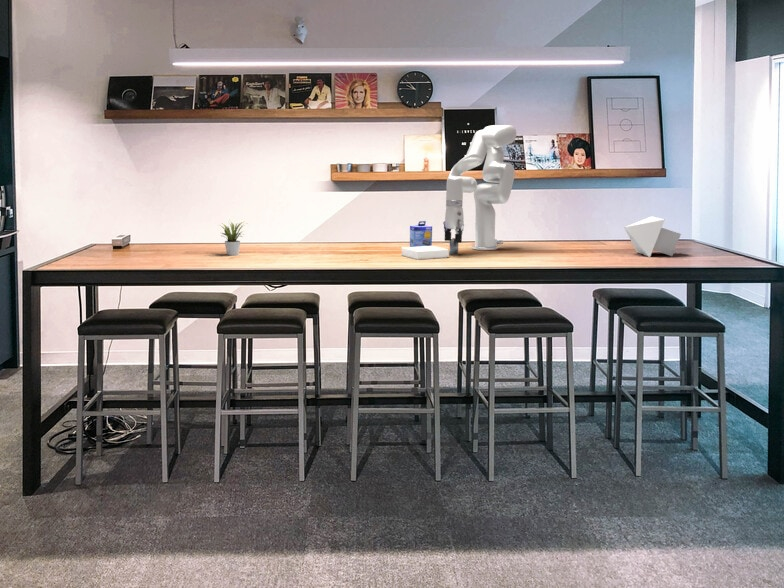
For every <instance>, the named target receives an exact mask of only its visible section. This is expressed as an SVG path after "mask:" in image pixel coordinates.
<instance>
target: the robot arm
mask: <svg viewBox="0 0 784 588" xmlns="http://www.w3.org/2000/svg"><path fill="white" fill-rule="evenodd" d="M516 138H517V130H516V128H515V126H513V125H511V124H502V125H501V124H499V125H498V124H493V125H488V126H485V127H484V128H483V129H480V130H477V131H476V132H475V133H474V135H473V137H472V140H471V143H470V145H469V148H468V150H467V152H466V155H465V156H464V157H463V158H461V159H459V160H458V162H457V163H455V164H454V165H453V167H452V168H451V170H450V172H449V175H448V177H447V179H446V193H445V194H446V195H445V196H446V197H445V208H446V209H445V214H444V221H443V223H442V224H443V232H444V241H445V242H447V241H448V242H450V239H452V230H454V231H455V234H454V238H455V243H458V244H459V243H462V239H463V237H462V236H463V231H464V227H465V224H464V219H465V217H464V208H463V199H464V198H463V195H464V194H472V193H473V198H474V204H475V205H474V206H475V223H474V224H475V225H474V228H475V233H474V245H472V246H471V249H472V250H476V251H477V250H478V251H494V250H498V249H499V247H498V245H504V240H502V239H501V240H497V239H496V210H495V208H494V206H493V205H503V204H506V203H508V201H509V199H510V196H511V192H512V188H513V184H514V181H515V176H516V175H515V174H516V172H515V168H514V165H513V164H512V163H510V162H509V163H508V162H504V160H505V159H504V158H505V152H504V149H503V147H505V146H508V145H510V144H512V143H513V142H514V141H515V140H516ZM483 163H484V164H483ZM482 164H483V168H482V172H481V173H482V174H481V178H482V179H483V181H485V182H487V183H479V184H478V182H477V180H476V179H475V178H474V177H472V176H463V174H464V173H466V172H467V171H470V170H472V169H474V168H476V167H479V166H480V165H482Z"/></svg>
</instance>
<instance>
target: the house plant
mask: <svg viewBox="0 0 784 588" xmlns="http://www.w3.org/2000/svg"><path fill="white" fill-rule="evenodd" d="M229 221H230V220H229ZM245 224H248V223H247V222H245V223H244V221H242V222H240V223H235V224H234V223H233V222H232V221H230V222H229V225H230V227H229V226H227V225H225V224H224V223H222V225H223V226H222V225H220V224H219V226H221V228H222V229H224V233H223V232H221V234H222V237H224V238H225V239H226V240H224V245H225V251H226V255H227V256H238V255H239V253H240V245H241V240H237V239H238V238H239V237H240V236H241V237H242V238H244V236H242V235H245V234H243V232H244V230H243V231H240V230H241V229H242V228H243V227H244V226H245Z"/></svg>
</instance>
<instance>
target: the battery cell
mask: <svg viewBox="0 0 784 588" xmlns="http://www.w3.org/2000/svg"><path fill="white" fill-rule="evenodd" d="M449 256H459V243H455V237H451V239H450V241H449Z"/></svg>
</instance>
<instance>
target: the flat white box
mask: <svg viewBox="0 0 784 588" xmlns="http://www.w3.org/2000/svg"><path fill="white" fill-rule="evenodd" d="M401 256H403V257H406V258H410V259H414V260H416V261H417V260H420V259H421V260H432V259H433V260H434V258H436V259H448V258H447V257H450V249H447V248H444V247H440V246H435V245H432V246H421V247H410V246H409V247H408V246H407V247H406V246H405V247H401Z"/></svg>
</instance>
